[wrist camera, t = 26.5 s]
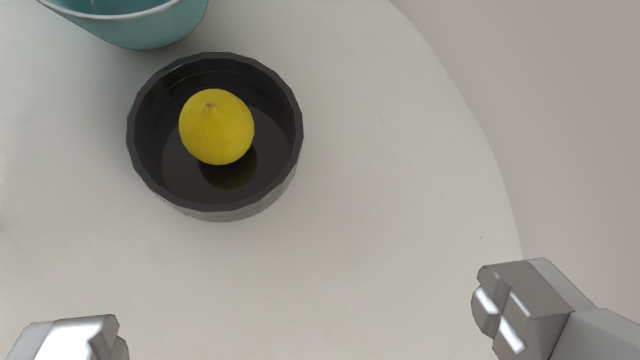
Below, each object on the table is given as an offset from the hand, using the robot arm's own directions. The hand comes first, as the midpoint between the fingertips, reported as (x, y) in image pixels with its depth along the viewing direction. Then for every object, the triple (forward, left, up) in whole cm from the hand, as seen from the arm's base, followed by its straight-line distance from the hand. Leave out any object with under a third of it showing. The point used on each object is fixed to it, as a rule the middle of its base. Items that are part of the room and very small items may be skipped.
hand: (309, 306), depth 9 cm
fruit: (0, -13, -23) cm, 27 cm away
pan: (0, -14, -24) cm, 27 cm away
